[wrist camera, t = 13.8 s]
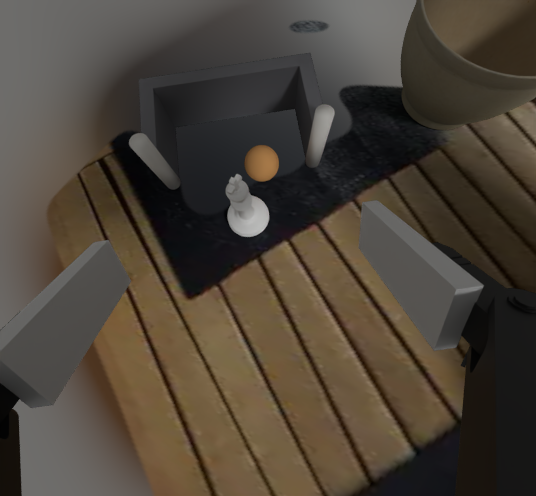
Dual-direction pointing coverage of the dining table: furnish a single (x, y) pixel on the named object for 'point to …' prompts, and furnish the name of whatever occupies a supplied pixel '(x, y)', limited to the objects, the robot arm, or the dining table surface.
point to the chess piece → (245, 209)
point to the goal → (228, 106)
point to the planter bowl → (468, 60)
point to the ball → (261, 163)
